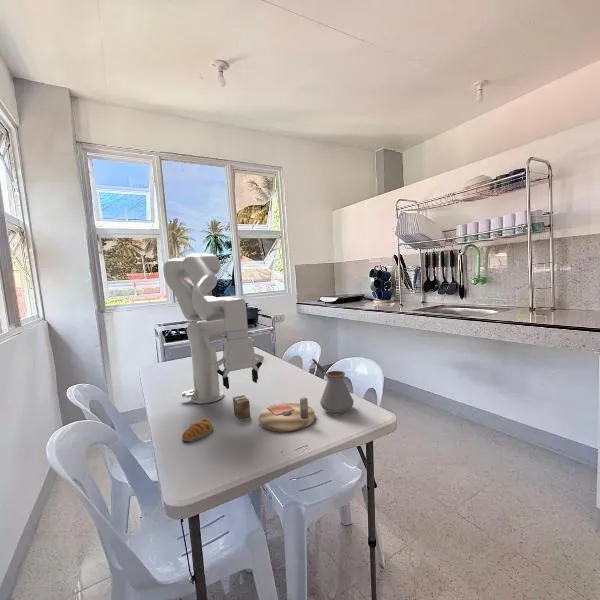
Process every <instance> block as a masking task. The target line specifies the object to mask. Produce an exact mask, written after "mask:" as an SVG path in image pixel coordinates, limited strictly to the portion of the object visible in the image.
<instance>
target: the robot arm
mask: <svg viewBox="0 0 600 600" xmlns="http://www.w3.org/2000/svg"><path fill="white" fill-rule="evenodd" d="M221 267H222V266H221V262H220V259H219V258H218V256H216V255H214V254H212V253H192V254H191V253H190V254H189V255H188V254H187V256H185V257H180V258H179V257H178V258H171V259H168V260H166V261H165V263H164V264H163V276H164V279H165V282H166V284H167V286H168V287H169V289H170V290H171V291H172V293H173V294H174V296H175V298H176V300H177V303H178V305H179V308H180V310H181V313H182V315H183V316H184V318H185V319H186V320H187V321H190V323H189V324H188V325H187V328H186V334H187V338H188V342H189V346H190V352H191V363H192V364H191V365H192V374H193V375H192V376H193V386H192V389H190V390H188V391H187V390H186V391H182V392H181V397H182V398H185V397H186V399H187V398H188V399H189V398H190V402H192V403H194V404H202V405H203V404H210V403H216V402H217V401H219V400H221V399H222V398H224V396H225V394H224V391H223V390H221V389H220V380H219V375H220V376H222V385H223V387H224V388H225V389H226V390H228V389H230V381H229V379H230V378H229V376H228V374H229V373H230V372H234V371H238V370H245V369H250V368H251V369H252V370H251V379H252V382H253V383H255V384H257V383H258V380H259V372H258V371H259V370H260V368H261V366H262V364H263V361H264V360H265V357H264V356H263V355H260V354H258V353H255V348H254V343H252V340H253V339H252V337H250V336H249V329H248V327H249V326H248V316H247V304H246V303H247V302H246V300H245V299H244V298H243V297H233V296H228V297H216V296H215V295H214V296H213V295H207V296H205V294H208V293H210V292H212V290H213V289H215V287H216V285H217V282H218V278H217V276H216V275H218V274H219V273H220V271H221ZM186 279H189V280H190V282H189V281H187V280H186ZM222 340H223V347H222V358H221V359H219V360H218V356H217V355H218V354H217V350H216V349H215V348H214V347H213V345H211V343H212V342H218V341H222ZM257 359H258V361H256V360H257ZM222 365H223V367H224V368H223V370H222V369H221V368H220V366H222Z"/></svg>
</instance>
